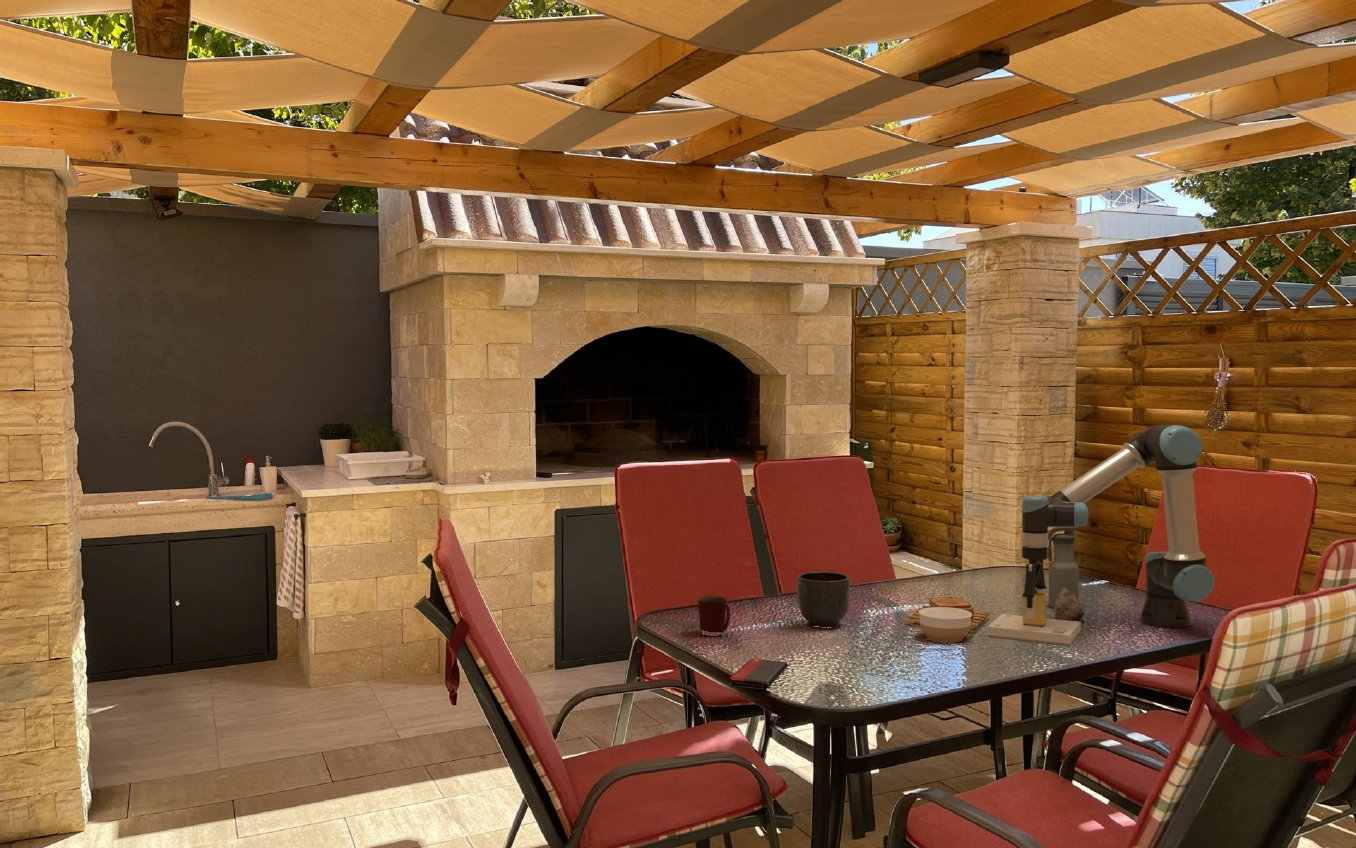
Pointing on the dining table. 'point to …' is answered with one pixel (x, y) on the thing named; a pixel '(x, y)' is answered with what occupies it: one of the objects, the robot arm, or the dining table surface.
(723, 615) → the mug
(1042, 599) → the plug
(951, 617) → the bowl
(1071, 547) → the water bottle
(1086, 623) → the dining table surface
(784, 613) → the dining table surface
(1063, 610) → the rock
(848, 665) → the dining table surface
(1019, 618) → the socket plate
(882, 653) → the dining table surface
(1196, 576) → the robot arm
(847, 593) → the planter
